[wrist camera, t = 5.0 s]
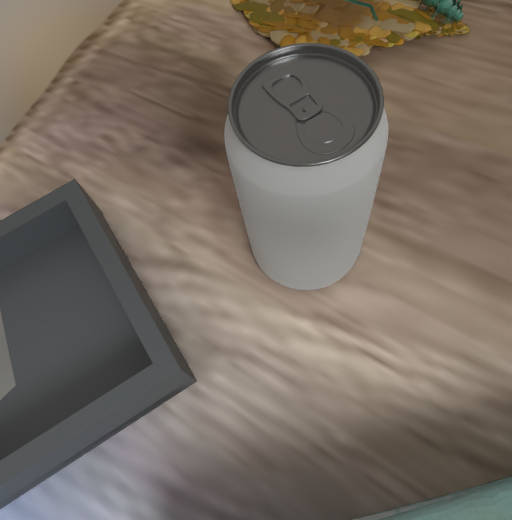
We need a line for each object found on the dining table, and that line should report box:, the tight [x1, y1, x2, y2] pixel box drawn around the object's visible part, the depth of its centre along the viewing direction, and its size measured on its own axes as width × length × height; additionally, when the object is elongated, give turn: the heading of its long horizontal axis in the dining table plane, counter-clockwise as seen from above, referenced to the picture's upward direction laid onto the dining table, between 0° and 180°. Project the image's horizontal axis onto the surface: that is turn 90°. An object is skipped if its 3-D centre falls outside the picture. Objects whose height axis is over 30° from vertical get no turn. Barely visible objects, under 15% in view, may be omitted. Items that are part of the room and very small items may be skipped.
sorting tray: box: [0, 179, 197, 509], centre depth 25 cm, size 13×13×4 cm
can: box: [224, 43, 388, 290], centre depth 22 cm, size 6×6×12 cm
